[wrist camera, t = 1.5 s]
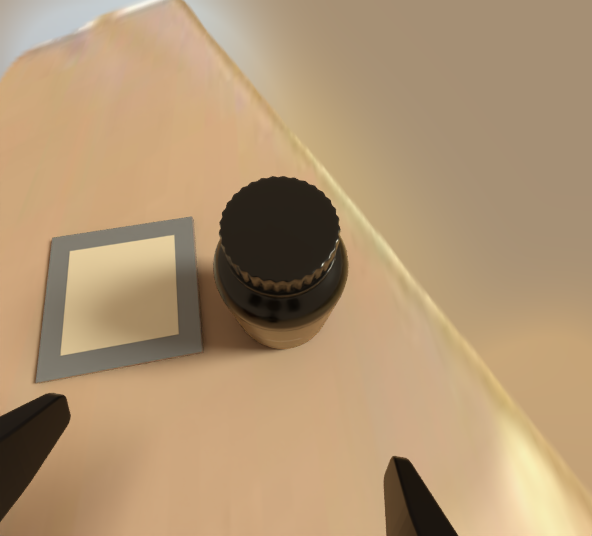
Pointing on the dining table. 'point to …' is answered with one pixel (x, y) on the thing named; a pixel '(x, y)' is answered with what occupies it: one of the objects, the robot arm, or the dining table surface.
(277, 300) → the supplement bottle
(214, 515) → the dining table surface
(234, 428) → the dining table surface
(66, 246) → the foundation tile
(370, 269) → the dining table surface
